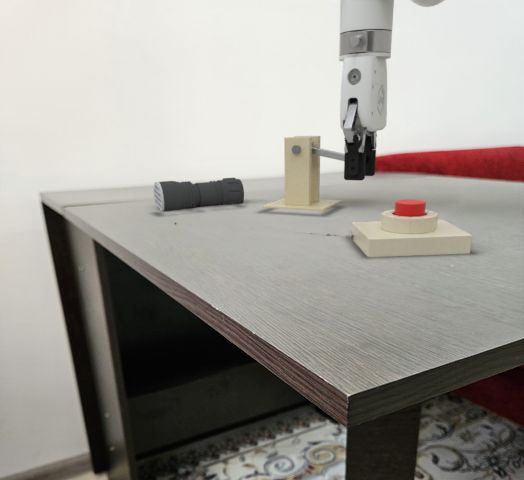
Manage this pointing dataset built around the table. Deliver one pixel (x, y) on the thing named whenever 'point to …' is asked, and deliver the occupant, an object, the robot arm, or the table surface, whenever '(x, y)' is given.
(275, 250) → the table surface
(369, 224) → the beige button housing
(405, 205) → the light button
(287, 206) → the switch bracket
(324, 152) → the switch
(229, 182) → the flashlight
